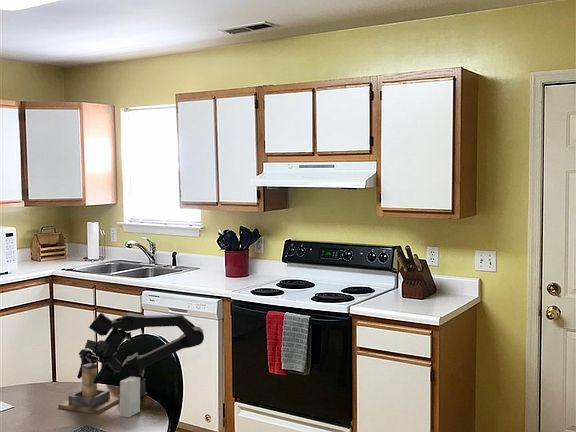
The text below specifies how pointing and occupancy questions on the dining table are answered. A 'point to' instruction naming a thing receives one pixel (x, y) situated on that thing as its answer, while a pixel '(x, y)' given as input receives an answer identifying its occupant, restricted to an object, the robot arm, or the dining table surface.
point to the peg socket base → (90, 402)
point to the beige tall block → (89, 380)
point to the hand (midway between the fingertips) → (86, 380)
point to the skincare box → (129, 396)
